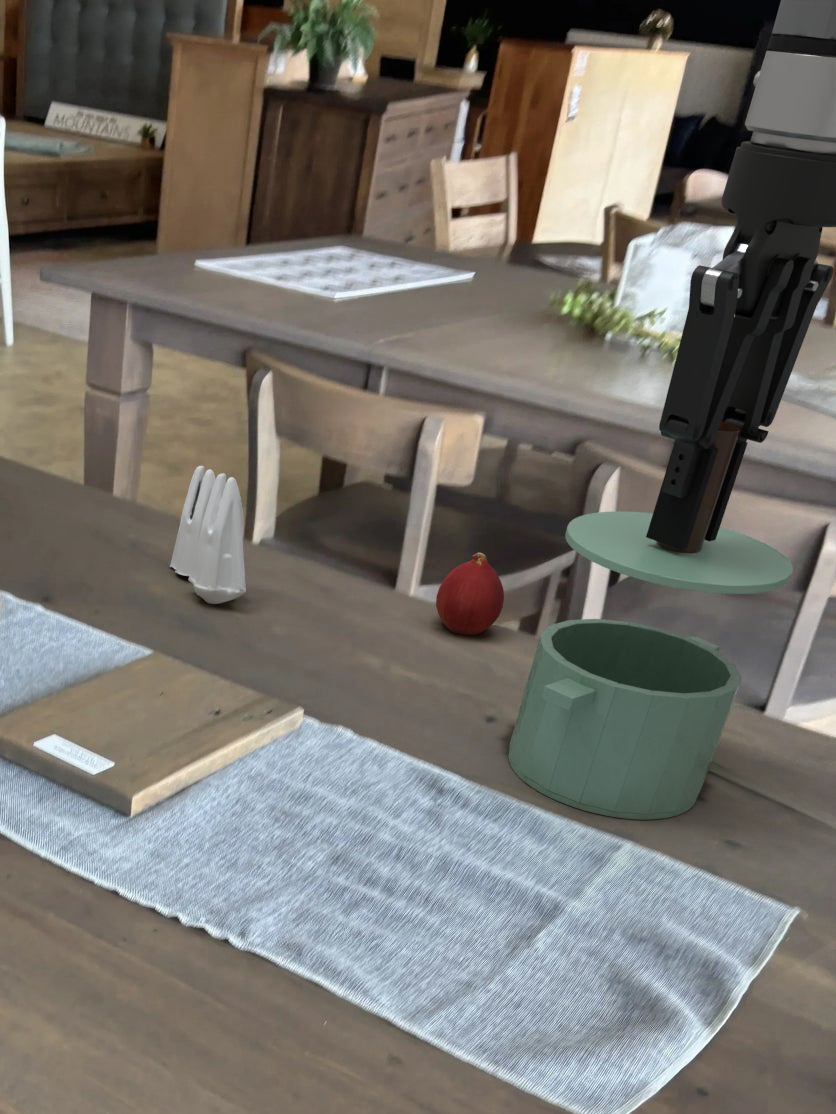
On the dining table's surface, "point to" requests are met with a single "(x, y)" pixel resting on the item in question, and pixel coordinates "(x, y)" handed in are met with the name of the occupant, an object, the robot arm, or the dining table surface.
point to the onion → (470, 597)
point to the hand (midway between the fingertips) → (681, 537)
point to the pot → (622, 717)
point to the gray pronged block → (212, 538)
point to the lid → (699, 566)
